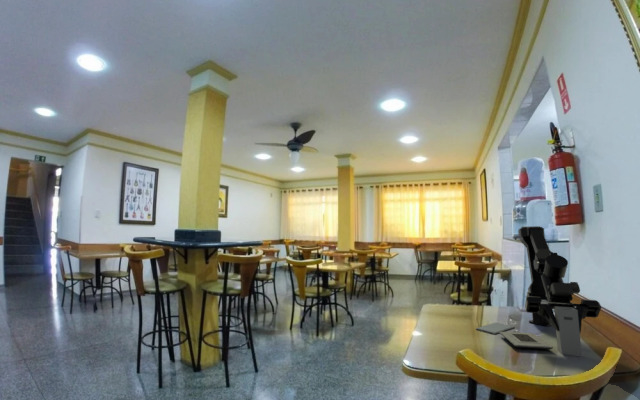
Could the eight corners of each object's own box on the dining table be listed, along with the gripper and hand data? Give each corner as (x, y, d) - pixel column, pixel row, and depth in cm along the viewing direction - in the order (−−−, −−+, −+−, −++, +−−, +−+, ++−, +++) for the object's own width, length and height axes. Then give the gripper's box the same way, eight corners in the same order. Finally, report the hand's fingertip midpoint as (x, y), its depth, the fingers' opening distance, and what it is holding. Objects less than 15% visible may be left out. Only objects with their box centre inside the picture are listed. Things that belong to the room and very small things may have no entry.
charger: (557, 349, 95) (553, 305, 97) (577, 351, 93) (572, 307, 95) (561, 354, 92) (557, 308, 93) (582, 356, 90) (577, 310, 91)
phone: (496, 325, 123) (495, 322, 123) (514, 329, 117) (514, 326, 117) (476, 331, 115) (475, 328, 116) (494, 336, 110) (494, 333, 110)
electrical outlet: (554, 354, 93) (553, 345, 93) (515, 351, 95) (514, 343, 95) (533, 339, 106) (532, 332, 106) (499, 337, 108) (499, 330, 108)
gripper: (523, 271, 102) (534, 313, 91) (595, 273, 95) (616, 319, 84) (521, 291, 109) (530, 333, 97) (587, 295, 101) (606, 340, 90)
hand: (568, 331), depth 92 cm, fingers closed on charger, 5 cm apart
